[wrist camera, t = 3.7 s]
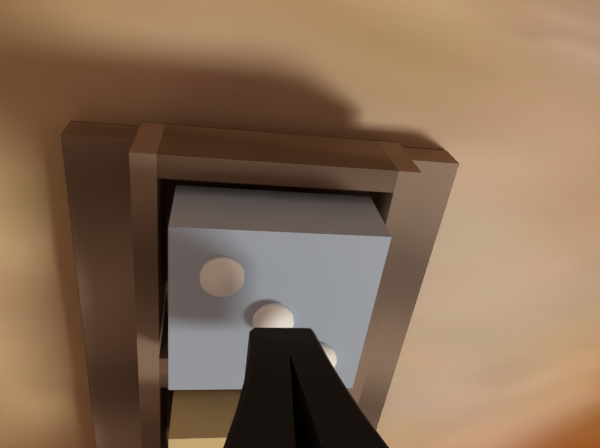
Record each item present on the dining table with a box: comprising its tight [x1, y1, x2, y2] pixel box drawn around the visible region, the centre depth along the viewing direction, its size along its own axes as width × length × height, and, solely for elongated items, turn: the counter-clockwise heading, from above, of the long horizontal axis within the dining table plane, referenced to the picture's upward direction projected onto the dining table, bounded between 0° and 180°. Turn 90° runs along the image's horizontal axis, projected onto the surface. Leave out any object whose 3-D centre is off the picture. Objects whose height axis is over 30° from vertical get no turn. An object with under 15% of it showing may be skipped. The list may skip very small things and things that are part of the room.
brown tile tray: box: [61, 121, 459, 448], centre depth 18 cm, size 21×11×3 cm, turn 172°
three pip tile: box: [168, 185, 392, 390], centre depth 13 cm, size 5×5×2 cm
